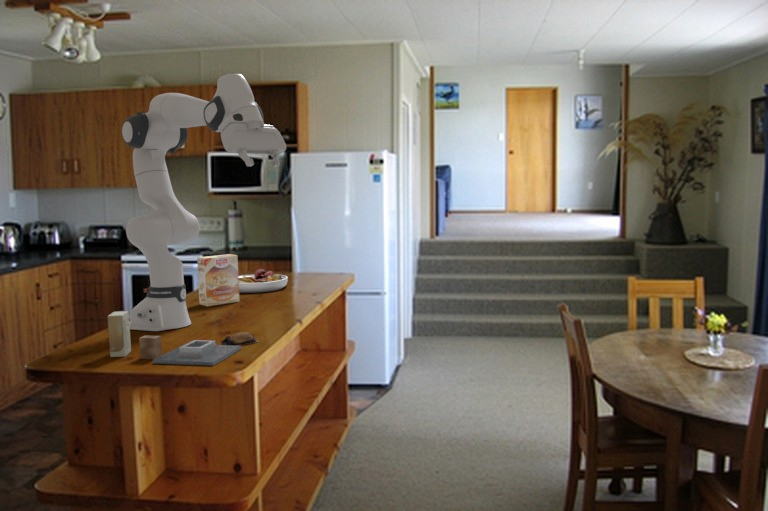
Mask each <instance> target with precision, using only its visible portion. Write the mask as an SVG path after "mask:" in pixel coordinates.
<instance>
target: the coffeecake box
mask: <svg viewBox="0 0 768 511" xmlns="http://www.w3.org/2000/svg"><path fill="white" fill-rule="evenodd" d="M196 259H197V276H198V278H197V280H198V283H197V284H198V300H199V305H201V306H205V307H212V306H218V305H225V304H232V303H233V304H234V303H239V302H240V293H239V279H238V276H239V262H238V261H239V260H238V255H237V254H232V253H227V254H219V255H217V254H215V255H209V256H207V255H206V256H197V258H196Z"/></svg>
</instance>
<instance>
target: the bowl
mask: <svg viewBox="0 0 768 511" xmlns="http://www.w3.org/2000/svg"><path fill="white" fill-rule="evenodd" d="M238 279H239V294H259V293H267V292H268V293H269V292H273V291H278V290H281V289H283V288H284V287H285V286H286V285H287V284H288V282H289V279H288V276H287V275H284V274H275V273H274V271H272V270H268V271H266V270H265V269H263V268H259V269H257V270H256V271H255V273H254V274H253V273H252V274H241V275H238Z"/></svg>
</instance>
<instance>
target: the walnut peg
mask: <svg viewBox="0 0 768 511" xmlns="http://www.w3.org/2000/svg"><path fill="white" fill-rule="evenodd" d="M138 339H139V340H138V341H139V355H140V356H139V357H140V359H142V360H145V359H146V360H153V359H156V358H158V357H160V356H162V355H163V349H162V348H163V347H162V336H161V335H143V336H140V337H138Z"/></svg>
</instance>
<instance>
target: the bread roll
mask: <svg viewBox="0 0 768 511" xmlns="http://www.w3.org/2000/svg"><path fill="white" fill-rule="evenodd" d="M220 342H221V345H233V346H245V345H246V346H247V345H251V344H258V343H260V340H259V339H257V338H255V337H254V336H253V335H252V334H251V333H250V332H245V331H244V332H243V331H240V332H236V333H234V334H232V335H230V336H226V337H225V338H224V339H223V340H221V341H220Z"/></svg>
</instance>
